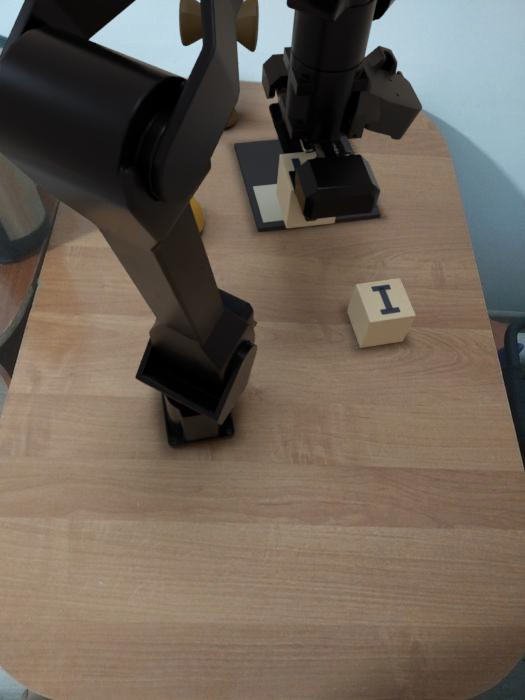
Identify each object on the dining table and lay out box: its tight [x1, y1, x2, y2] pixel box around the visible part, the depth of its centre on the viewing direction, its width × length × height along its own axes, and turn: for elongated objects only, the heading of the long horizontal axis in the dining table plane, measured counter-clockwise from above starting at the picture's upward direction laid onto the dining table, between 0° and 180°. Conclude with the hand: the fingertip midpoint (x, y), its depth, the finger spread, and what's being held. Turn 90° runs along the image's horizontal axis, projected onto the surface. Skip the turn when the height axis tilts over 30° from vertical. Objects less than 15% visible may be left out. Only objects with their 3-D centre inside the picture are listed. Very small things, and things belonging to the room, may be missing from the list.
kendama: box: [178, 0, 260, 129], centre depth 71 cm, size 6×10×20 cm, turn 90°
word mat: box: [234, 136, 382, 232], centre depth 74 cm, size 16×16×1 cm
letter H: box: [276, 152, 336, 229], centre depth 55 cm, size 5×5×5 cm
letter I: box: [346, 277, 417, 349], centre depth 60 cm, size 5×5×5 cm
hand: (304, 200), depth 56 cm, fingers closed on letter H, 5 cm apart
